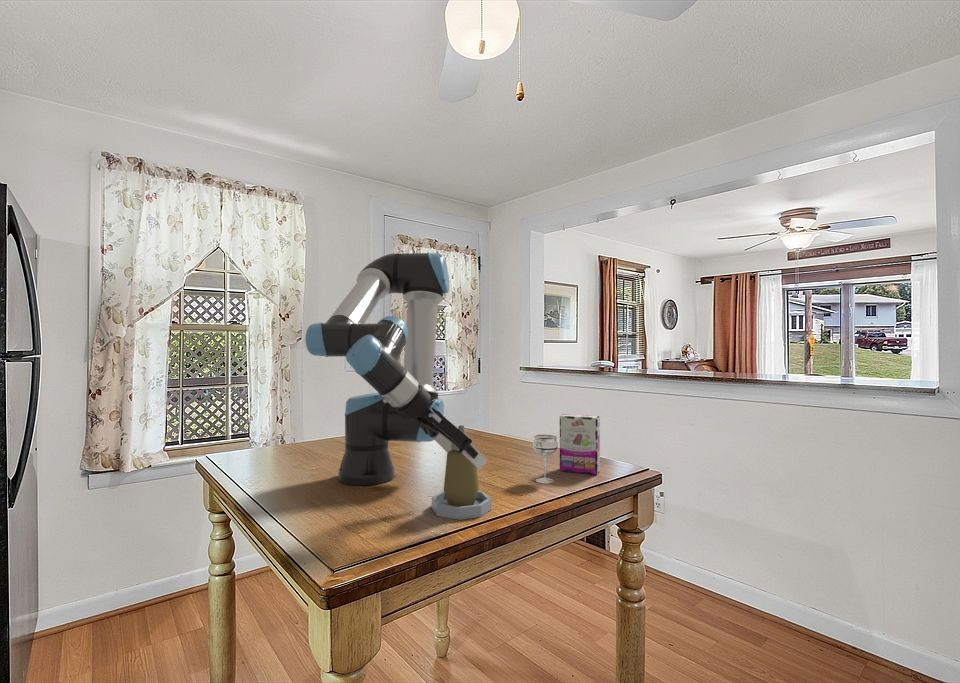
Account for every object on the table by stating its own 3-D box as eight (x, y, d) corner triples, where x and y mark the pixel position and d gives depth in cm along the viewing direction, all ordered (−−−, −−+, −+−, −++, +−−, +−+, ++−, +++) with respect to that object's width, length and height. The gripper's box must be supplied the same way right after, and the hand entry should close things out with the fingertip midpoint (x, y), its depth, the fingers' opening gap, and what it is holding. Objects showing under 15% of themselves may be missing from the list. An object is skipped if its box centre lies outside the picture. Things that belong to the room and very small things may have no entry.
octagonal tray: (422, 513, 110) (423, 501, 110) (450, 496, 121) (450, 486, 121) (473, 522, 104) (473, 510, 104) (497, 504, 116) (497, 494, 116)
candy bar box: (600, 471, 145) (600, 415, 145) (597, 475, 141) (598, 418, 141) (562, 467, 150) (563, 413, 150) (558, 471, 145) (559, 415, 145)
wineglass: (541, 475, 140) (541, 433, 140) (562, 480, 136) (562, 436, 136) (527, 481, 135) (528, 437, 135) (549, 485, 130) (549, 440, 130)
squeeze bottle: (474, 511, 108) (475, 429, 108) (439, 509, 109) (439, 428, 109) (482, 499, 116) (482, 423, 116) (448, 497, 117) (448, 422, 117)
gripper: (376, 402, 115) (435, 458, 123) (417, 417, 94) (485, 485, 101) (398, 378, 118) (454, 435, 125) (443, 388, 96) (507, 456, 104)
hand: (468, 458), depth 113 cm, fingers open, 13 cm apart
